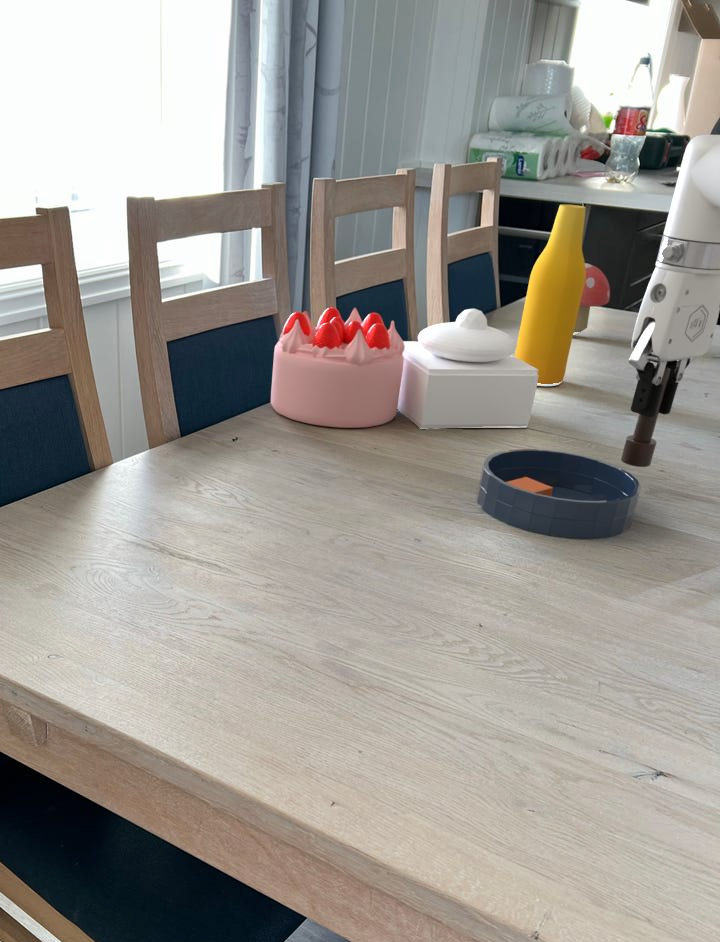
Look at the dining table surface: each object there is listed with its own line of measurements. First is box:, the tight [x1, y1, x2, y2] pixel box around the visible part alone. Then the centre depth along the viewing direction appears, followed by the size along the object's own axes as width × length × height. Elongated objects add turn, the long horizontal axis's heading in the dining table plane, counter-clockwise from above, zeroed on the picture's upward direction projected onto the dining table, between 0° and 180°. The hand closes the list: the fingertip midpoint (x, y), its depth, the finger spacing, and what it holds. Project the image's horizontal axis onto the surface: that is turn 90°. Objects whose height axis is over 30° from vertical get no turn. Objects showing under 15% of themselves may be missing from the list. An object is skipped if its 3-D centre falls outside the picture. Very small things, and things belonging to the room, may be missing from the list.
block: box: [506, 477, 553, 496], centre depth 114 cm, size 4×4×4 cm
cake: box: [270, 306, 405, 429], centre depth 148 cm, size 20×20×14 cm
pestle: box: [620, 365, 671, 468], centre depth 121 cm, size 4×4×12 cm
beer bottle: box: [514, 204, 586, 384], centre depth 168 cm, size 9×9×29 cm
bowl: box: [476, 448, 642, 540], centre depth 117 cm, size 18×18×5 cm
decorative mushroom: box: [574, 262, 611, 333], centre depth 208 cm, size 13×13×15 cm
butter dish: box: [397, 308, 539, 428], centre depth 151 cm, size 18×18×16 cm
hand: (649, 411), depth 121 cm, fingers closed on pestle, 2 cm apart
